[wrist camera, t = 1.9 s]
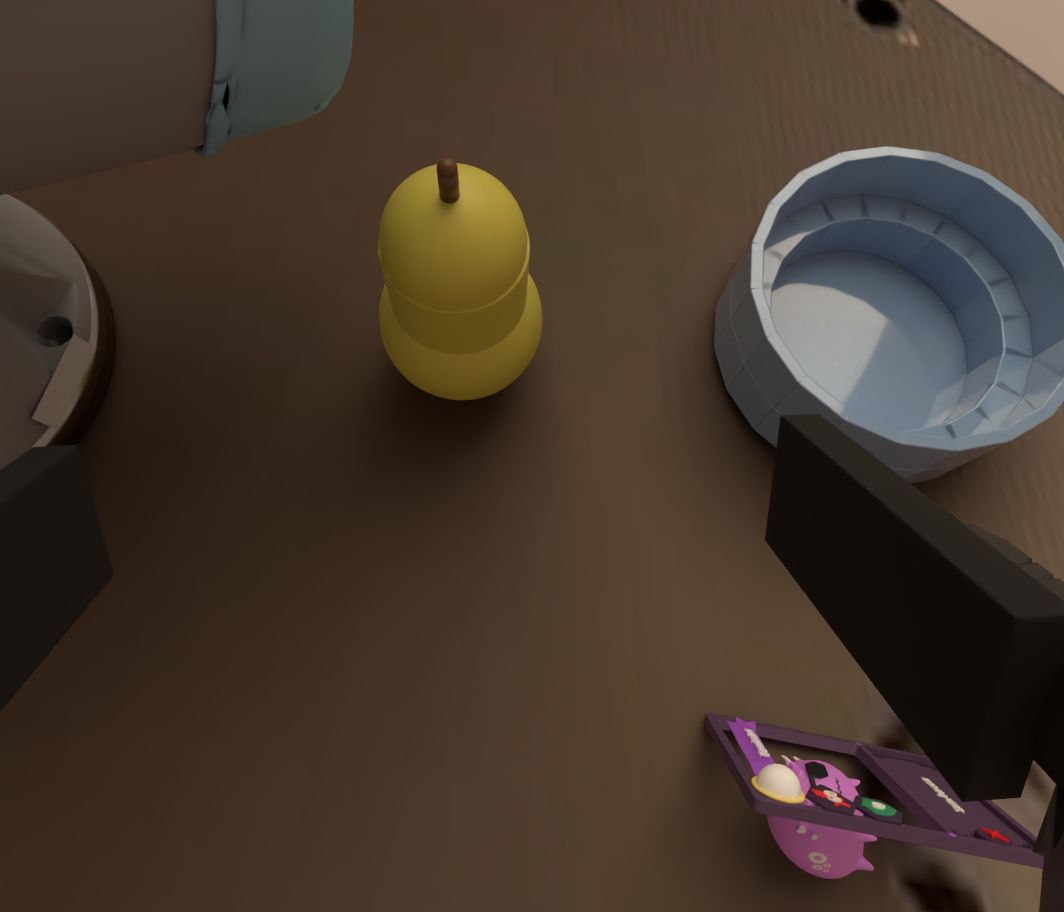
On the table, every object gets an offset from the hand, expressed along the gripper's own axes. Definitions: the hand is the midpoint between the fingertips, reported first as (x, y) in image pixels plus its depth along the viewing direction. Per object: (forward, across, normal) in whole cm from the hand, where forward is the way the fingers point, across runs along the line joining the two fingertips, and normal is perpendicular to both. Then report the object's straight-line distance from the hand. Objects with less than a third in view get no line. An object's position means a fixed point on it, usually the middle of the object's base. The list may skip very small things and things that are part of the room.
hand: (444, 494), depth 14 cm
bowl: (+18, +18, -3) cm, 26 cm away
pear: (+19, 0, -2) cm, 19 cm away
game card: (+7, +12, -17) cm, 22 cm away
